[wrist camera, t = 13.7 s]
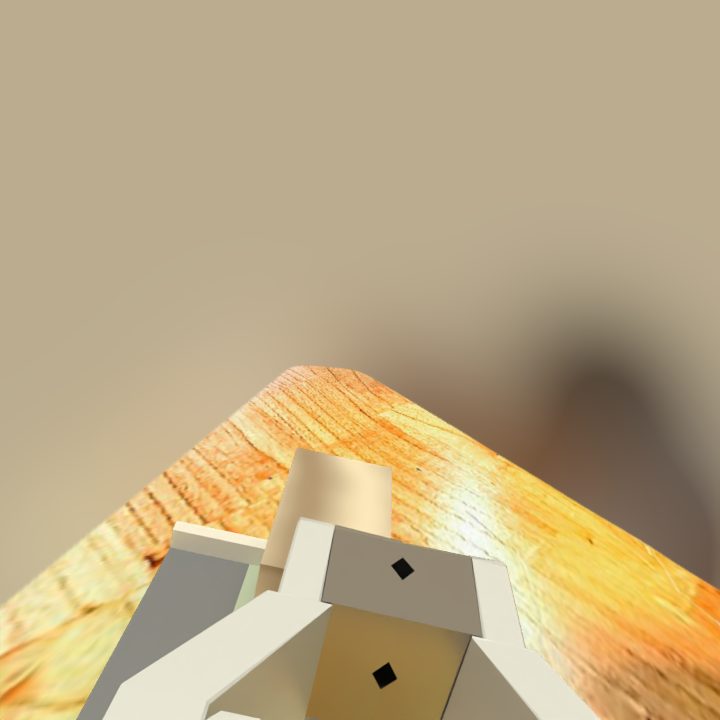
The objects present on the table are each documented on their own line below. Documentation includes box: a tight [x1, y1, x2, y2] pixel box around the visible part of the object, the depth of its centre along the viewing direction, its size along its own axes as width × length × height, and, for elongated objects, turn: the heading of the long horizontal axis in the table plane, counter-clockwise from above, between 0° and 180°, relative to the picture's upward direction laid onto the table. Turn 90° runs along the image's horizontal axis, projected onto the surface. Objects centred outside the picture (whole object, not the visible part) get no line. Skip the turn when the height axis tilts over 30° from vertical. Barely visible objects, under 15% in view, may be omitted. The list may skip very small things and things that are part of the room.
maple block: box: [254, 448, 392, 720], centre depth 35 cm, size 6×11×10 cm, turn 177°
